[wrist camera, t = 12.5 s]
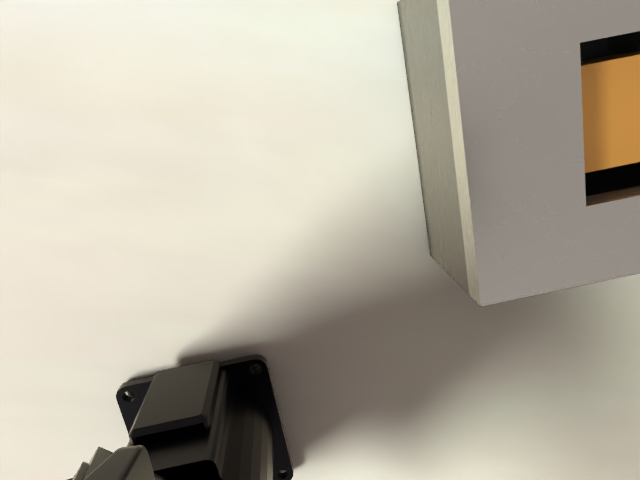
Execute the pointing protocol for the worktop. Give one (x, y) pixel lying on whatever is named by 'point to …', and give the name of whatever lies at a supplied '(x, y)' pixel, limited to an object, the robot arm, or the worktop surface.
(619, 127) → the button
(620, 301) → the worktop surface
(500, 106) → the grey block with hole
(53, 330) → the worktop surface
